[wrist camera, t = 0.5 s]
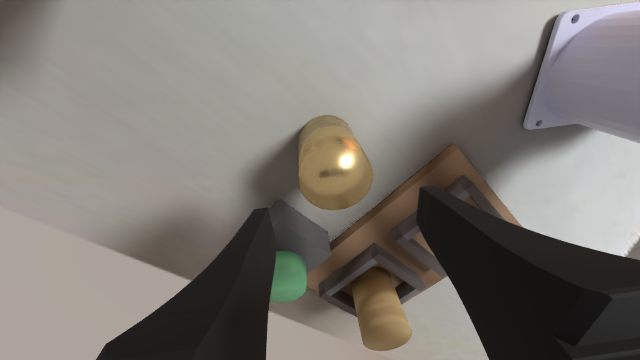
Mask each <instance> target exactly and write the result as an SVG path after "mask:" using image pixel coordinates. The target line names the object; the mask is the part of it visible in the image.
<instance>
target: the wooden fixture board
mask: <svg viewBox="0 0 640 360" xmlns="http://www.w3.org/2000/svg"><path fill="white" fill-rule="evenodd" d="M430 185H433V186H435V187H438V188H440V189H442V190H444V191H446V192H448V193H449V194H451V195H453V196H455V197H457V198H459V199H461V200H463V201H465V202H467V203H469V204H471V205H473V206H475V207H477V208H479V209H481V210H483V211H485V212H487V213H489V214H491V215H494V216H496V217H498V218H500V219H503V220H505V221H507V222H510V223H512V224H515V225H518V226H520V227H522V226H521V225H520V224H519V223H518V221H517V220H516V219H515V218H514V216H513V215H512V214H511V213H510V211H509V210H508V209H507V208H506V206H505V205H504V204H503V203H502V201H501V200H500V199H499V198H498V196H497V195H496V194H495V193H494V192H493V190H492V189H491V188H490V187H489V185H488V184H487V183H486V182H485V180H484V179H483V178H482V177H481V175H480V174H479V173H478V172H477V170H476V169H475V168H474V167H473V165H472V164H471V163H470V162H469V160H468V159H467V158H466V157H465V156H464V154H463V153H462V152H461V151H460V149H459V148H457V147H456V146H454V145H453V144H452V145H451V146H449V147H448V148H447V149H446V150H444V151H443V152H442V153H441V154H439V155H438V156H437V157H436V158H435V159H433V160H432V161H431V162H430V163H428V164H427V165H426V166H425V167H424V168H422V169H421V170H420V171H419V172H417V173H416V174H415V175H414V176H413V177H411V178H410V179H409V180H408V181H406V182H405V183H404V184H403V185H401V186H400V187H399V188H398V189H397V190H395V191H394V192H393V193H392V194H390V195H389V196H388V197H387V198H386V199H384V200H383V201H382V202H381V203H379V204H378V205H377V206H376V207H374V208H373V209H372V210H371V211H370V212H368V213H367V214H366V215H365V216H363V217H362V218H361V219H360V220H359V221H357V222H356V223H355V224H354V225H352V226H351V227H350V228H349V229H348V230H346V231H345V232H344V233H343V234H341V235H340V236H339V237H338V238H336V239H335V240H334V241H333V242H332V243H330V251H331V256H330V257H328V258H327V259H326V260H325V261H323V262H322V263H321V264H320V265H318V266H317V267H316V268H315V269H313V270H312V271H311V272H309V273H308V274H307V287H309V288H311V289H313V290H315V291H316V292H318V293H319V294H320V298H322V299H324V300H326V301H328V302H330V303H332V304H334V305H335V306H337V307H339V308H341V309H343V310H345V311H347V312H349V313H350V314H352V315H354V316H356V317H358V322H359V327H360V331H361V336H362V341H363V344H364V346H365V347H367V348H368V349H371V350H375V351H386V350H391V349H395V348H397V347H400V346H402V345H403V344H405V343H406V342H407V341H408V340H409V339H410V338H411V335H412V331H411V329H410V326H409V323H408V321H407V318H406V316H405V313H404V311H403V308H402V304H403V303H405V302H407V301H408V300H410V299H411V298H413V297H415V296H416V295H418V294H420V293H421V292H423V291H424V290H426V289H428V288H429V287H431V286H432V285H434V284H436V283H437V282H439V281H440V280H442V279H444V278H445V277H447V276H448V275H447V274H446V272H445V271H444V269H443V268H442V266H441V265H440V263H439V261H438V260H437V258H436V257H435V255H434V254H433V252H432V251H431V249H430V247H429V246H428V244H427V243H426V241H425V239H424V237H423V235H422V233H421V231H420V229H419V227H418V224H417V222H416V216H417V207H418V198H419V189H420V187H423V186H430Z"/></svg>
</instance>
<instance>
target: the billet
mask: <svg viewBox="0 0 640 360" xmlns="http://www.w3.org/2000/svg"><path fill="white" fill-rule="evenodd" d="M372 180H373V170H372V166H371V164H370V162H369V160H368V158H367V156H366V155H365V153H364V151H363V150H362V148H361V146H360V144H359V143H358V141H357V139H356V137H355V136H354V134H353V132H352V130H351V129H350V127H349V126H348V124H347V123H346V122H345V121H343V120H342V119H340V118H338V117H335V116H331V115H323V116H319V117H316V118H314V119H312V120H311V121H309V122H308V123H307V124H306V125H305V126H304V127H303V129H302V131H301V133H300V136H299V186H300V189H301V192H302V194H303V195H304V197H305V198H306V199H307V200H308V201H309V202H310V203H312V204H313V205H315V206H317V207H319V208H322V209H327V210H340V209H344V208H348V207H350V206H352V205H354V204H356V203H357V202H359V201H360V200H361V199H362V198H363V197H364V196H365V195H366V194H367V192H368V191H369V189H370V187H371V184H372Z"/></svg>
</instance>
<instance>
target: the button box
mask: <svg viewBox="0 0 640 360" xmlns="http://www.w3.org/2000/svg"><path fill="white" fill-rule="evenodd" d="M269 215H270V219H271V222H272V226H273V230H274V233H275V237H276V251H289V252H293V253H296V254H297V255H299V256H301V257H302V258H303V260H304V261H305V263H306V274H308V273H309V272H311V271H312V270H313V269H315V268H316V267H317V266H318V265H320V264H321V263H322V262H323V261H325V260H326V259H327V258H328V257H330V256H331V251H330V244H329V237H328V232H327V231H325V230H324V229H322V228H321V227H319V226H318V225H317V224H315V223H314V222H312V221H311V220H309V219H308V218H306V217H305V216H303V215H302V214H301V213H299V212H298V211H296V210H295V209H293V208H292V207H290V206H289V205H287V204H286V203H285V202H283V201H282V200H279V201H278V202H277V203H276V204H275V205H274V206H273V207H272V208H271V209H270V210H269Z"/></svg>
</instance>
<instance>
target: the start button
mask: <svg viewBox="0 0 640 360" xmlns="http://www.w3.org/2000/svg"><path fill="white" fill-rule="evenodd" d="M306 288H307V274H306V263H305V261H304V260H303V258H302V257H301V256H299V255H297V254H296V253H293V252H289V251H276V262H275V269H274V276H273V282H272V289H271V296H270V302H276V303H285V302H290V301H293V300H296V299H298V298H299V297H301V296H302V295H303V294H304V293H305V291H306Z"/></svg>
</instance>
